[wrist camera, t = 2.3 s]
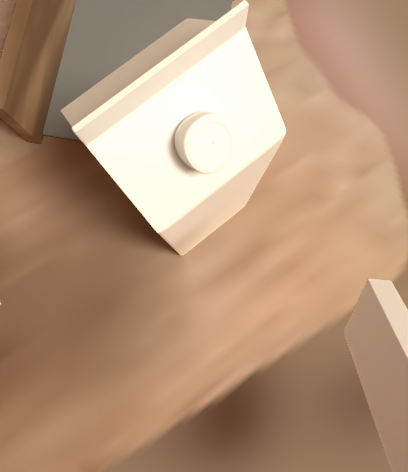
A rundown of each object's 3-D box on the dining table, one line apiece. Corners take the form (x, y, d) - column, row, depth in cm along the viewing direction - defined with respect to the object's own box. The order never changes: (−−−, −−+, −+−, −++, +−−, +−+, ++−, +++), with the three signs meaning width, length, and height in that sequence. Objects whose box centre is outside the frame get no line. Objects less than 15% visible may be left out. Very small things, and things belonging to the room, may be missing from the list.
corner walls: (28, 141, 31) (-14, 106, 25) (73, -35, 34) (46, -104, 28) (205, 169, 30) (206, 140, 25) (235, -11, 33) (242, -76, 27)
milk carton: (131, 193, 30) (7, 48, 11) (194, 144, 30) (180, -73, 12) (181, 257, 29) (142, 218, 10) (245, 206, 30) (319, 80, 11)
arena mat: (43, 135, 31) (42, 133, 31) (82, -20, 33) (81, -23, 33) (205, 160, 31) (205, 159, 30) (231, 2, 33) (232, -1, 33)
